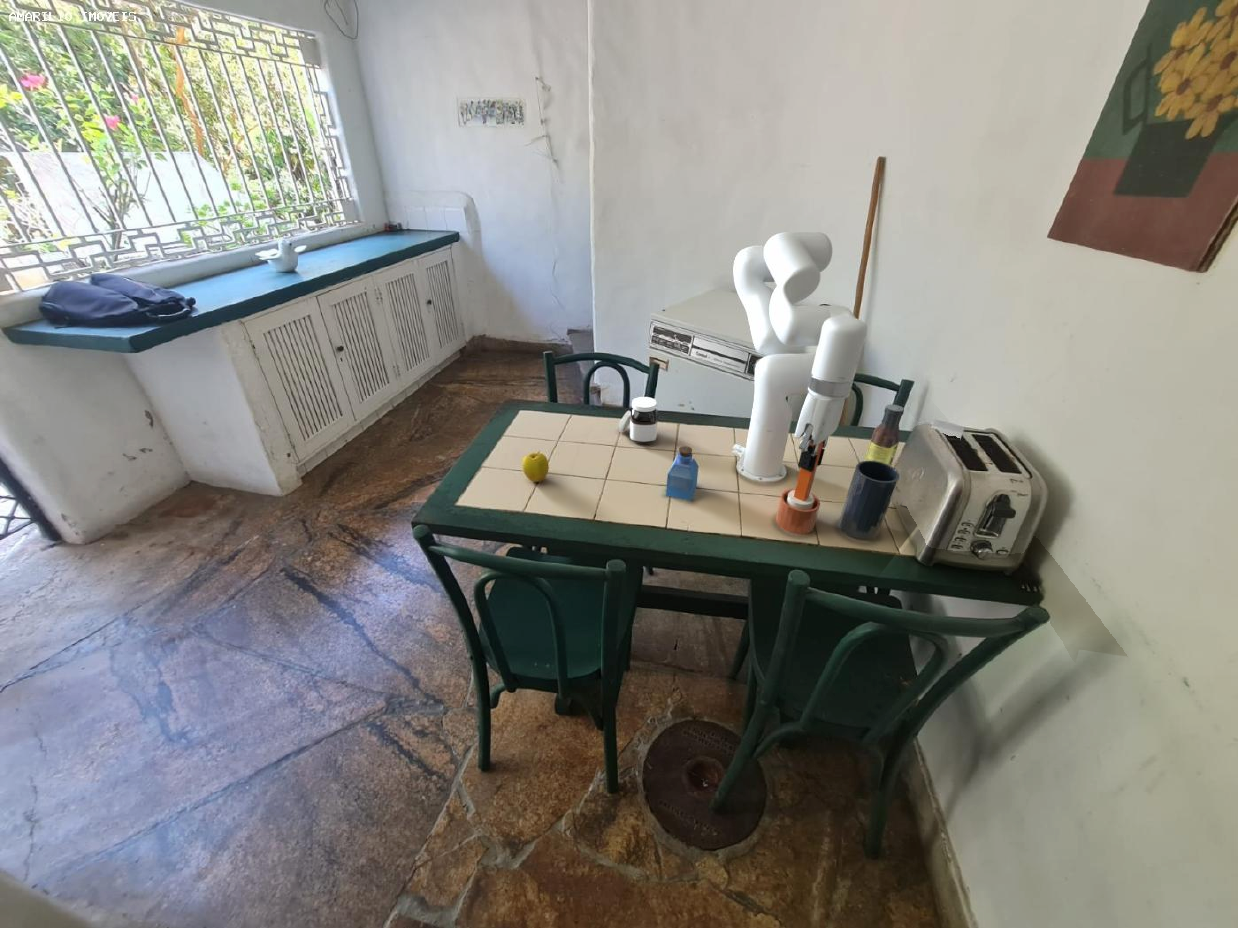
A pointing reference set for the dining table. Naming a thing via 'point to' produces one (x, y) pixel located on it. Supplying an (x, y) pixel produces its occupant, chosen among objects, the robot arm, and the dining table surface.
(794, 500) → the brush
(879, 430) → the sauce bottle
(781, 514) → the brush holder
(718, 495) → the dining table surface
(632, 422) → the spread jar
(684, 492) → the perfume bottle
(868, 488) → the dark blue cylindrical vase
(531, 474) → the apple
